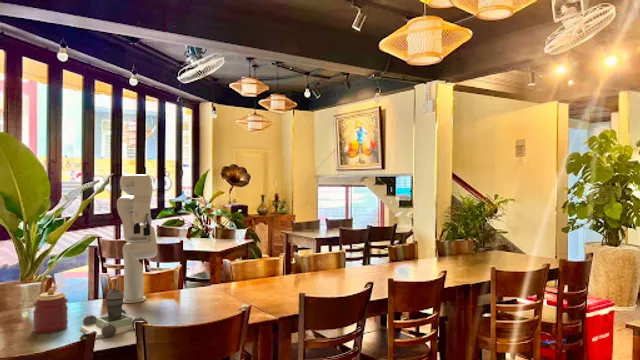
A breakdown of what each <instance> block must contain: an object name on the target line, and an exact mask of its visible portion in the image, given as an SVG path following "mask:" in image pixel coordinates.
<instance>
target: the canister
mask: <svg viewBox="0 0 640 360" xmlns="http://www.w3.org/2000/svg"><path fill="white" fill-rule="evenodd" d="M66 296H67V295H66V293H63V292H62V291H55V289H54V288H52V287H51V288H49V289H48V290H47V292H43V293H40V294H38V295H37V296H36V297H35V302H33V303H32V305H33V306H34V310H33V311H32V313H33V324H32V329H33V333H36V334H50V333H51V334H52V333H57V332H60V331H63V330H66V328H67V327H68V309H69V307H68V304H67V303H68V301H69V299H68V298H66Z"/></svg>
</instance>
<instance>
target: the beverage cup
mask: <svg viewBox="0 0 640 360" xmlns="http://www.w3.org/2000/svg"><path fill="white" fill-rule="evenodd" d="M115 285H116V286H115V288H112V289H110V290H109V291H108V292H107V294H106V296H105V301H106V306H107V307H106V308H107V309H106V310H107V315H108V322H112V321H116V320H121V312H122V310H123V298H124V294H123V291H122V290H121V289H119V288H118V285H119V278H117V279H116V283H115Z"/></svg>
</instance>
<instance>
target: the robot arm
mask: <svg viewBox="0 0 640 360" xmlns="http://www.w3.org/2000/svg"><path fill="white" fill-rule="evenodd" d="M152 183H153V179H152V177H151V175H149V174H141V173H140V174H137V173H136V174H134V173H131V174H130V173H128V174H123V175H122V176H120V180H119V185H120V190H122V191H123V192H125V194H126V195H124V196H120V197H119V198H118V199H117V200H116V209H117V213H118V216H119V217H120V220H121V223H122V227H123V228H122V230H123V238H124V240H125V242H126V243H124V244H123V246H122V257H123V291H122V293H123V297H124V298H123V302H122V304H123V303H124V304H134V303H135V304H136V303H140V302H144V301H146V300H147V296H145V295H144V266H143V264H142V263H141V262H140V260H143V259H144V260H145V259H152V258H153V259H154V258H155V257H156V256H157V255H158V245H157V237H156V231H155V228H154V226H153V225H152V221H153V219H152V215H151V213H152V212H151V202H152V197H153V189H154V188H153V184H152Z"/></svg>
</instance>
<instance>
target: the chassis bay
mask: <svg viewBox="0 0 640 360" xmlns="http://www.w3.org/2000/svg"><path fill="white" fill-rule="evenodd" d="M135 321H146V319H145V318H143V317H140V316H136V317H135V316H133V315H128V314H127V312H126V311H125V310H124V309H122V312H121V320H116V321H112V322H108V314H107V315H104V316H99V317H96V316H95V315H93V314H89V315H86V316H85V317H84V318H83V321H82V323H83V325H81V326H80V331H81V332H83V333H85V334H87V333H86V332H92V331H96V332H97V337H96V338H98V339H101V337H102V338H109V337H110V338H112V337H114V336H115V335H117V334H121V333H125V332H129V331H133V330H135V329H134V322H135ZM128 330H129V331H128Z"/></svg>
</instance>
